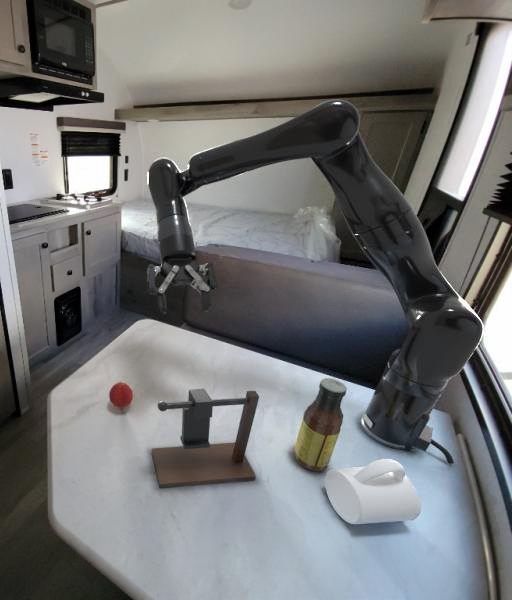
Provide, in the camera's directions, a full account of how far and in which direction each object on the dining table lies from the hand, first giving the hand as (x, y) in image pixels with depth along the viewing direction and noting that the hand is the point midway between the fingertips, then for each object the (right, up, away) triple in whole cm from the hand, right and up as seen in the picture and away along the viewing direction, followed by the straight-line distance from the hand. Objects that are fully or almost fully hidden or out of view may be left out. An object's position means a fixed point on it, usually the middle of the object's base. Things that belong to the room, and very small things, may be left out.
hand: (185, 311), depth 65 cm
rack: (+3, -32, +1) cm, 32 cm away
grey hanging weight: (+1, -26, -4) cm, 26 cm away
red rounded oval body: (-13, -25, +16) cm, 32 cm away
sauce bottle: (+26, -31, +2) cm, 40 cm away
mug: (+30, -35, -7) cm, 47 cm away
